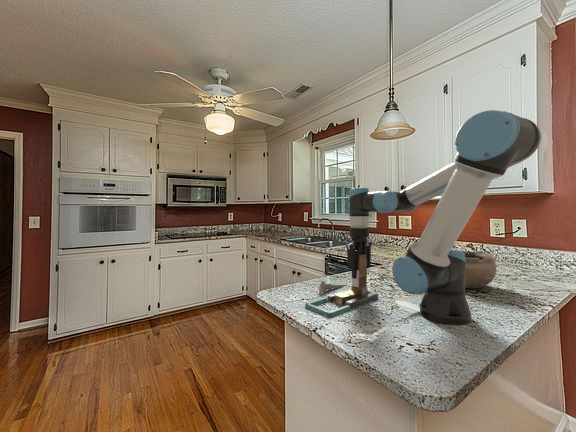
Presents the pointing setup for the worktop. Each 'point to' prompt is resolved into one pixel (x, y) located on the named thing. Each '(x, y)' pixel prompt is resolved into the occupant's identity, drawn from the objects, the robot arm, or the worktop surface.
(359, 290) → the brown long block
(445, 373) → the worktop surface
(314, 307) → the tray
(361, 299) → the grey shallow bin
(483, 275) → the ceramic bowl
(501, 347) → the worktop surface
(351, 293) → the chip
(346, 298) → the tan block
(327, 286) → the caliper
